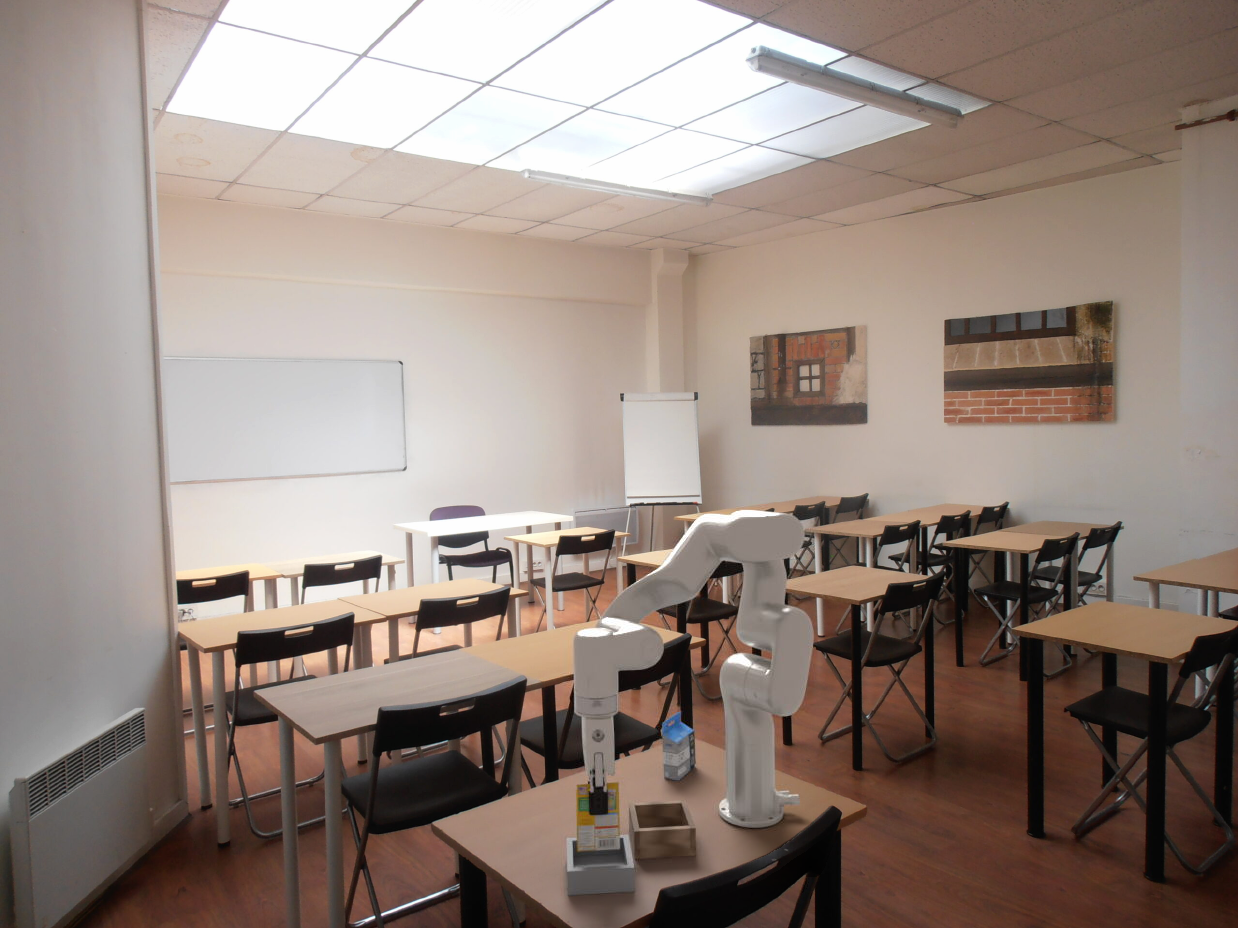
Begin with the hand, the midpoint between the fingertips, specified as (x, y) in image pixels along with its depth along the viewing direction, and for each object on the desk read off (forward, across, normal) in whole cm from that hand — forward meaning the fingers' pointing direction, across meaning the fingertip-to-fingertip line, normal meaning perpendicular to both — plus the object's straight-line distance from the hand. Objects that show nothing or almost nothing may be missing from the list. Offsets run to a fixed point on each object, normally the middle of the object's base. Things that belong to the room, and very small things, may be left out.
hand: (598, 807), depth 137 cm
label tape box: (+12, +40, -20) cm, 46 cm away
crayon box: (+7, 0, 0) cm, 7 cm away
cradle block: (+12, 0, 0) cm, 12 cm away
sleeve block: (+12, +10, -12) cm, 20 cm away
